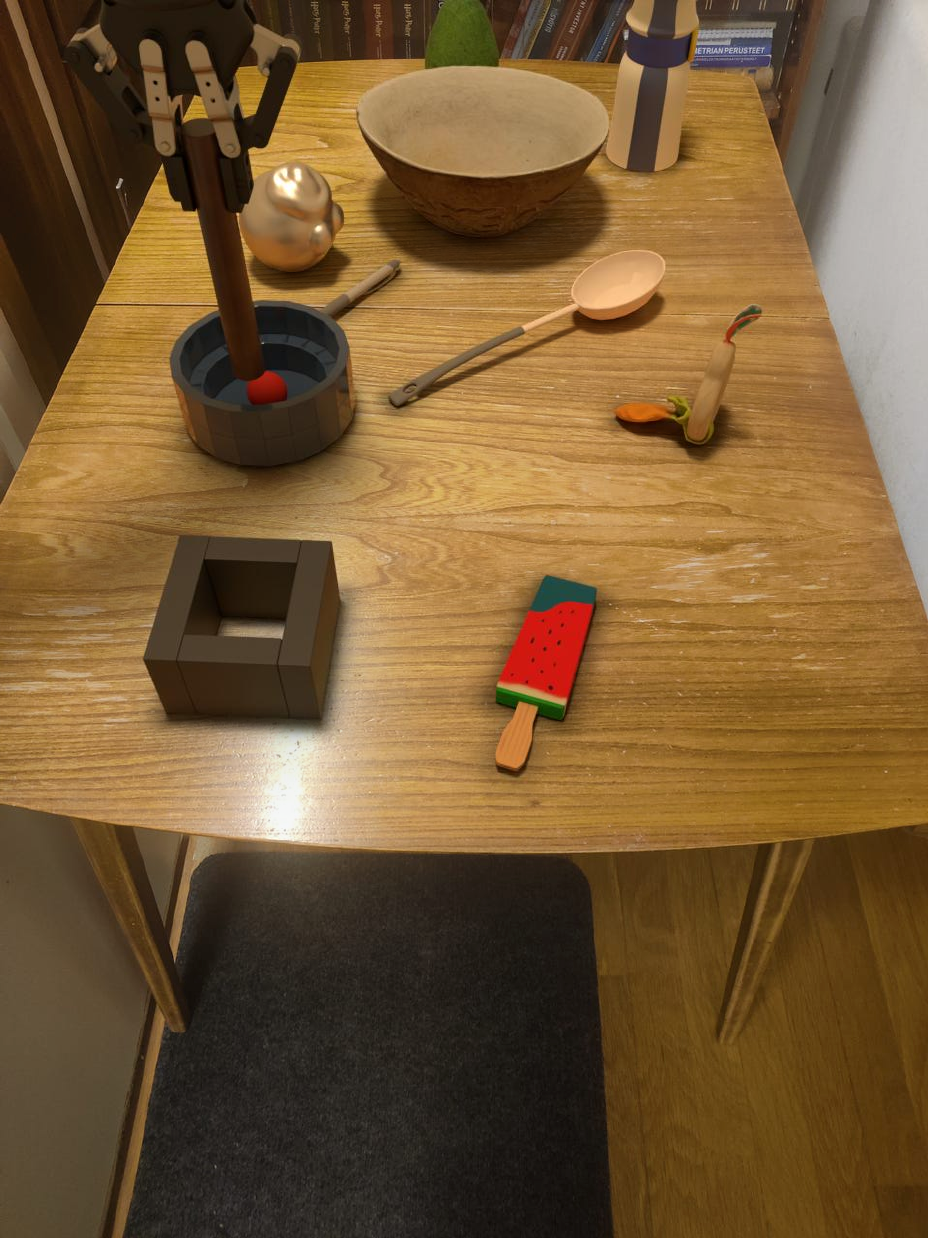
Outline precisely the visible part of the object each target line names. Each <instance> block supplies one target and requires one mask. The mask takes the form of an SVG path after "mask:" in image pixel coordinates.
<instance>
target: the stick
mask: <svg viewBox="0 0 928 1238" xmlns="http://www.w3.org/2000/svg"><path fill="white" fill-rule="evenodd" d="M179 131H180V136H181V140H182V145H183V149H184V154H185V158H186V163H187V167H188V172H189V176H190V181H191V186H192V190H193V195H194V199H195V204H196V208H197V209H196V212H197V218H198V222H199V227H200V230H201V235H202V239H203V245H204V249H205V253H206V258H207V262H208V267H209V271H210V277H211V281H212V285H213V289H214V294H215V298H216V299H215V300H216V304H217V307H218V310H219V313H220V317H221V322H222V326H223V331H224V335H225V340H226V344H227V349H228V353H229V358H230V363H231V367H232V372H233V375H234V376H235V377H236V378H237V379H239V380H242V381H252V380H256V379H258V378H260V377H261V376H262V375H263V374H264V373H265V363H264V358H263V353H262V347H261V342H260V337H259V331H258V326H257V321H256V315H255V310H254V305H253V301H254V300H253V295H252V290H251V285H250V278H249V274H248V268H247V262H246V259H245V258H246V257H245V252H244V245H243V242H242V234H241V230H240V224H239V218H238V215H237V214H238V213H230V211H229V208H228V202H227V197H226V192H225V187H224V182H223V177H222V172H221V166H220V161H219V157H220V155H221V152H222V151H221V149H220V145H219V142H218V139H217V136H216V132H215V129H214V126H213V123H212V121H210V120H209V119H208V117H198V118H192V119H189V120H186V121H184V123H183V124H182V125H181V126H180V129H179Z"/></svg>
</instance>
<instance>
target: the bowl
mask: <svg viewBox="0 0 928 1238" xmlns="http://www.w3.org/2000/svg"><path fill="white" fill-rule="evenodd" d="M355 112H356V113H355V115H356V122H357V125H358V128H359V130H360V133H361V136H362V138H363V140H364V142H365V144H366V145H367V147H368V149H369V150H370V152H371V153H372V155H373V156H374V158H375V160H376V162H377V163H378V165H380V167H381V168H382V170H383V171H384V172H385V174H386V176H387V179H389V181H390V182H391V183H392V185H393V186H394V187H395V188H396V189H397V191H398V192H399V194H400V195H402V197H403V198H405V200H406V201H407V202H408V203H409V204H410V205H411V206H412V208H414V209H415V210H416V211H417V212H418V213H419V214H420V215H421V216H423V217H424V218H425V219H427V220H428V221H430V222H431V223H432V224H433V225H435V226H437V227H438V228H440V229H443V230H445V231H448V232H450V233H454V234H456V235H457V234H458V235H462V236H466V237H476V238H477V237H483V238H485V237H496V236H504V235H507V234H509V233H513V232H516V231H518V230H520V229H521V228H524V227H525V226H527V225H528V224H530V223H531V222H533V221H534V220H536V219H537V218H538V217H540V215H542V214H544V213H545V212H546V211H548V210H549V209H550V208H551V207H552V206H553V205H555V203H556V202H558V201H559V200H560V199H561V198H563V196H564V195H565V194H566V193H567V192H568V191H569V190H571V189H572V187H573V186H574V185H575V184H576V183H577V182H578V181H579V180H580V178H581V177H582V176H583V175H584V173H585V172H586V171H587V169H588V168H589V167H590V166H591V164H592V163H593V161H594V160H595V159H596V157H597V156H598V155H599V153H600V152H601V150H602V148H603V146H604V145H605V143H606V141H607V139H608V137H609V131H610V116H609V112H608V110H607V108H606V106H605V105H604V103H603V102H602V100H601V99H600V98H599V97H597V96H596V95H595V94H594V93H592V92H590V91H588V90H587V89H584V88H582V87H580V86H578V85H576V84H575V83H572V82H569V81H565V80H562V79H560V78H557V77H554V76H551V75H547V74H544V73H538V72H534V71H529V70H524V69H518V68H514V67H505V66H499V67H489V66H449V67H439V68H433V69H426V70H425V69H420V70H416V71H411V72H407V73H404V74H401V75H399V76H396V77H394V78H390V79H388V80H385V81H382V82H381V83H379V84H377V85H375V86H373V87H372V88H370V89H367V90H366V92H364V93H363V94H362V95H361V96H360V97H359V99H358V101H357V107H356V110H355Z"/></svg>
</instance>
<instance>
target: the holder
mask: <svg viewBox="0 0 928 1238" xmlns="http://www.w3.org/2000/svg"><path fill="white" fill-rule="evenodd" d="M336 567H337V566H336V560H335V554H334V547H333V542H332V541H331V540H317V539H316V540H315V539H312V540H311V539H302V540H301V539H294V538H293V539H290V538H265V537H244V536H243V537H241V536H219V535H218V536H215V535H213V536H212V535H198V534H197V535H195V534H194V535H193V534H179V537H178V539H177V543H176V546H175V549H174V552H173V556H172V559H171V564H170V567H169V569H168V573H167V577H166V580H165V582H164V583H165V584H164V587H163V590H162V594H161V598H160V600H159V603H158V607H157V610H156V614H155V617H154V621H153V623H152V627H151V630H150V634H149V636H148V640H147V644H146V647H145V650H144V654H143V658H142V661H143V664H144V666H145V668H146V670H147V672H148V675H149V677H150V679H151V682H152V684H153V686H154V689H155V691H156V693H157V696H158V698H159V700H160V703H161V705H162V707H163V710H164V712H165V714H170V715H171V714H174V715H195V716H196V715H203V716H205V715H206V716H223V717H224V716H225V717H249V718H268V719H269V718H271V719H273V718H274V719H294V720H295V719H296V720H314V721H315V720H317V721H318V720H319V721H321V720H322V716H323V711H324V705H325V698H326V691H327V687H328V686H327V684H328V678H329V673H330V665H331V659H332V653H333V647H334V640H335V635H336V629H337V628H336V627H337V623H338V622H337V621H338V615H339V609H340V602H341V595H340V587H339V580H338V575H337V568H336ZM222 617H241V618H266V619H267V618H268V619H285V623H284V628H283V634H282V638H281V637H260V636H259V637H258V636H257V637H255V636H237V635H236V636H234V635H217V634H218V629H219V625H220V622H221V618H222Z"/></svg>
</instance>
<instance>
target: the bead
mask: <svg viewBox="0 0 928 1238" xmlns="http://www.w3.org/2000/svg"><path fill="white" fill-rule="evenodd" d="M287 394H288V392H287V386H286V384H285V382H284V380H283V379H282V378H281V377H280V376H279V375H277V374H275V373H273V372H269V371H265V373H264V374H263V375H262V376H261V377H260V378H258V379H256V380H252V381H249V383H248V386H247V396H248V399H249V401H250V403H251V404H252V405H264V404H270V403H276V402H281V401H286V399H287Z"/></svg>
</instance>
